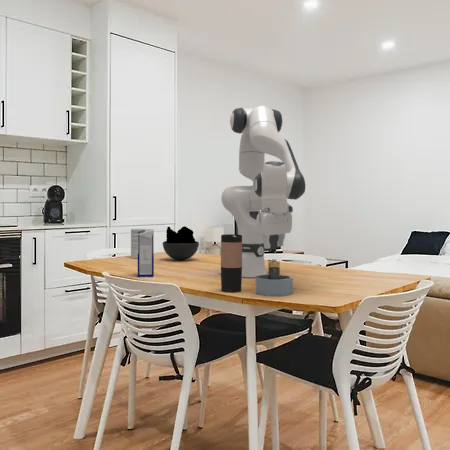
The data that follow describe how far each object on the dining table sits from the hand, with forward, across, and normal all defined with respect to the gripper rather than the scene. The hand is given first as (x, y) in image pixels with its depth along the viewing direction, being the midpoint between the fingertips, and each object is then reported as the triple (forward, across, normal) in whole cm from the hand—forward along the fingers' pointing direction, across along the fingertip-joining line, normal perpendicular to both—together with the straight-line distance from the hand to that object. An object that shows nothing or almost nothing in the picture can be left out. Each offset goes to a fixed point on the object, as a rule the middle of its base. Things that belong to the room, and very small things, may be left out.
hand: (273, 247), depth 173 cm
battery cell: (+15, 0, 0) cm, 15 cm away
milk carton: (+17, +3, +64) cm, 66 cm away
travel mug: (+16, -6, +14) cm, 22 cm away
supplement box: (+18, +55, +115) cm, 129 cm away
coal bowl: (+18, +59, +90) cm, 109 cm away
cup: (+16, 0, 0) cm, 16 cm away
